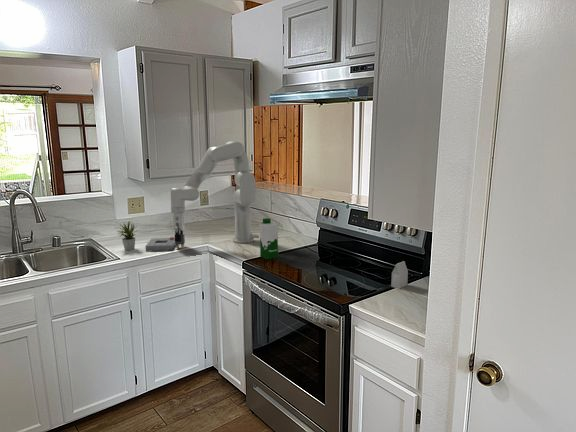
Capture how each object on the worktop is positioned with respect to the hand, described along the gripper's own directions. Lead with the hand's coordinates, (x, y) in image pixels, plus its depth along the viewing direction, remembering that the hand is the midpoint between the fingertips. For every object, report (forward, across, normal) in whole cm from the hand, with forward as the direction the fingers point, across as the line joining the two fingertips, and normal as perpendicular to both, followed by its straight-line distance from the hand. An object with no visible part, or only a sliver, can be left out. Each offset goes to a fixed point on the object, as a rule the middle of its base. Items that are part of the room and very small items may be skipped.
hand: (179, 239), depth 243 cm
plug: (+5, 0, 0) cm, 5 cm away
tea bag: (+4, -77, -100) cm, 127 cm away
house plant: (+6, +2, +28) cm, 29 cm away
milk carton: (+4, -26, -50) cm, 56 cm away
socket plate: (+5, +4, +10) cm, 12 cm away
